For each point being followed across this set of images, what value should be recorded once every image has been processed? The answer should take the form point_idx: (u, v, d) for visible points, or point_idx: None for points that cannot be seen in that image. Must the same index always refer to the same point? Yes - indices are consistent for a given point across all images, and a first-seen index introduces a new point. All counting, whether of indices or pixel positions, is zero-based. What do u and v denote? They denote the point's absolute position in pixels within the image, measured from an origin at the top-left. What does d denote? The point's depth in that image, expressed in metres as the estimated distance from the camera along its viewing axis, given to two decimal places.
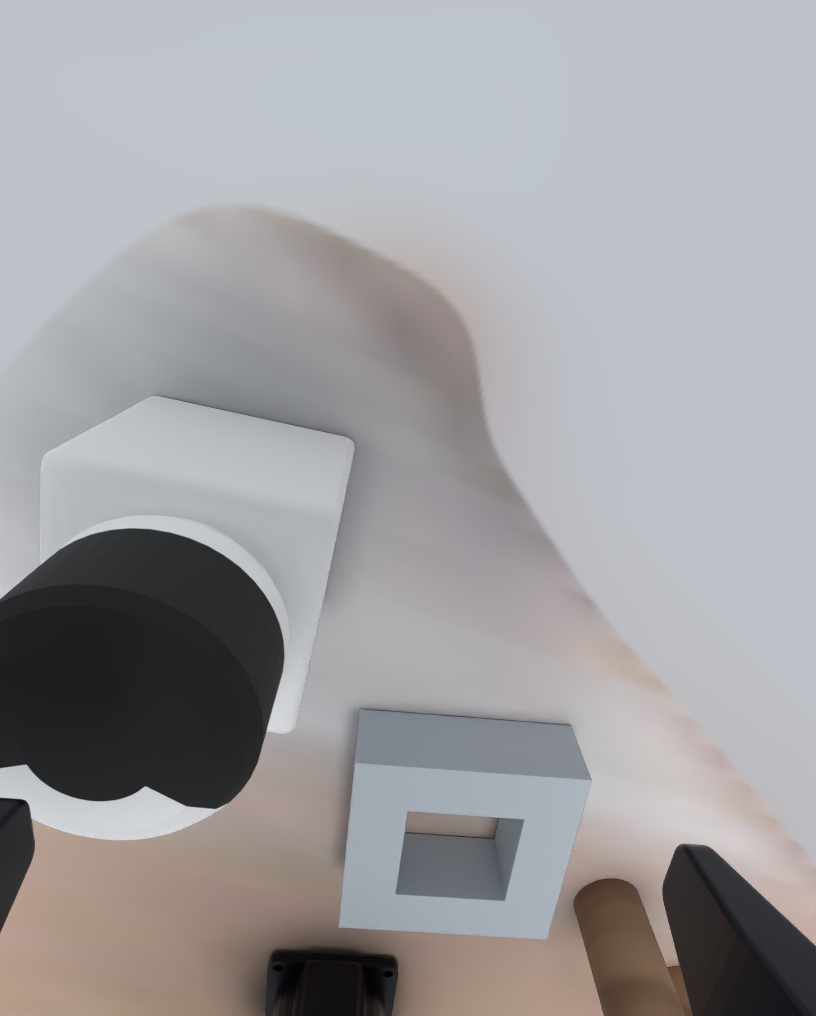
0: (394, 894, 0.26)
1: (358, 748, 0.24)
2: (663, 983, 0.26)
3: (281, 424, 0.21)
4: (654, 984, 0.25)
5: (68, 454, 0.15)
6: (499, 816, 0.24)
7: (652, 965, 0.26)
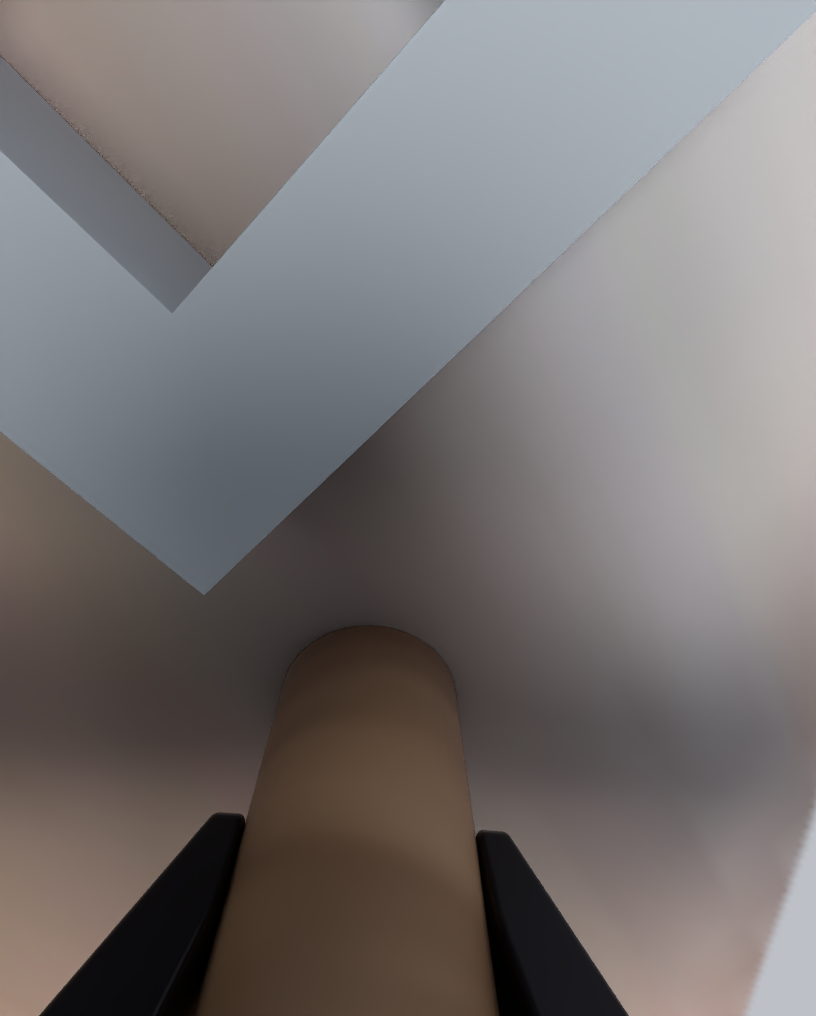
0: None
1: None
2: (482, 920, 0.07)
3: None
4: (463, 906, 0.07)
5: None
6: None
7: (467, 854, 0.08)
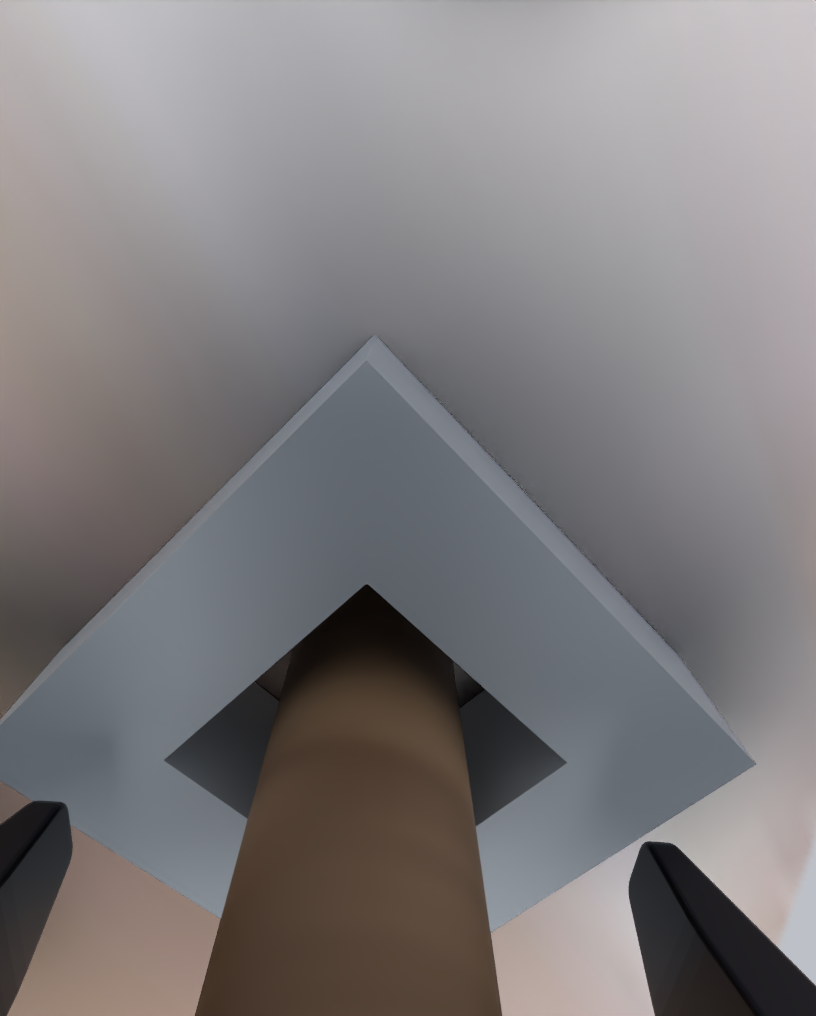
0: (161, 759, 0.10)
1: (372, 356, 0.08)
2: (470, 811, 0.08)
3: None
4: (453, 796, 0.08)
5: None
6: (531, 725, 0.10)
7: (458, 761, 0.09)
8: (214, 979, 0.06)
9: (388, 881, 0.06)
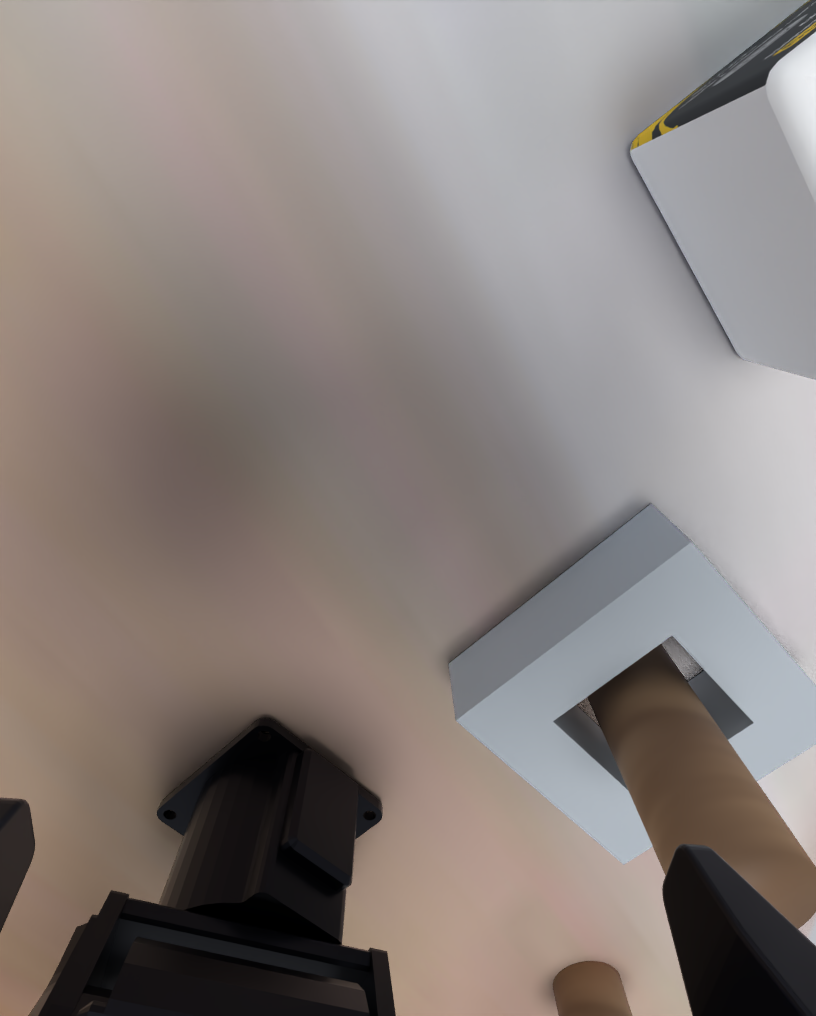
0: (552, 720, 0.20)
1: (681, 532, 0.18)
2: (726, 741, 0.18)
3: None
4: (722, 733, 0.18)
5: None
6: (739, 703, 0.20)
7: (713, 720, 0.19)
8: (665, 795, 0.16)
9: (725, 760, 0.16)
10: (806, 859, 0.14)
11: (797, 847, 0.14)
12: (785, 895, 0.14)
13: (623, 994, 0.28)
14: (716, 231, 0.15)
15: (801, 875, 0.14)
